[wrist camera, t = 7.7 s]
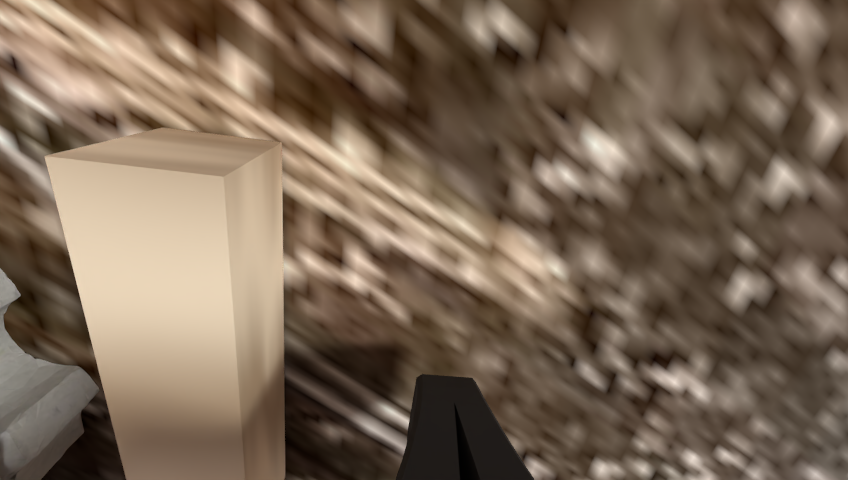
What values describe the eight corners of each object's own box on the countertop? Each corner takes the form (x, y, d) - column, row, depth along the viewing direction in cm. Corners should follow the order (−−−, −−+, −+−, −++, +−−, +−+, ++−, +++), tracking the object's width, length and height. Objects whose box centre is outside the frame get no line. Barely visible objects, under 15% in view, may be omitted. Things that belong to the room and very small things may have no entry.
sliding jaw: (285, 475, 13) (252, 585, 10) (207, 471, 13) (152, 583, 10) (281, 142, 9) (223, 176, 6) (162, 127, 8) (45, 155, 6)
